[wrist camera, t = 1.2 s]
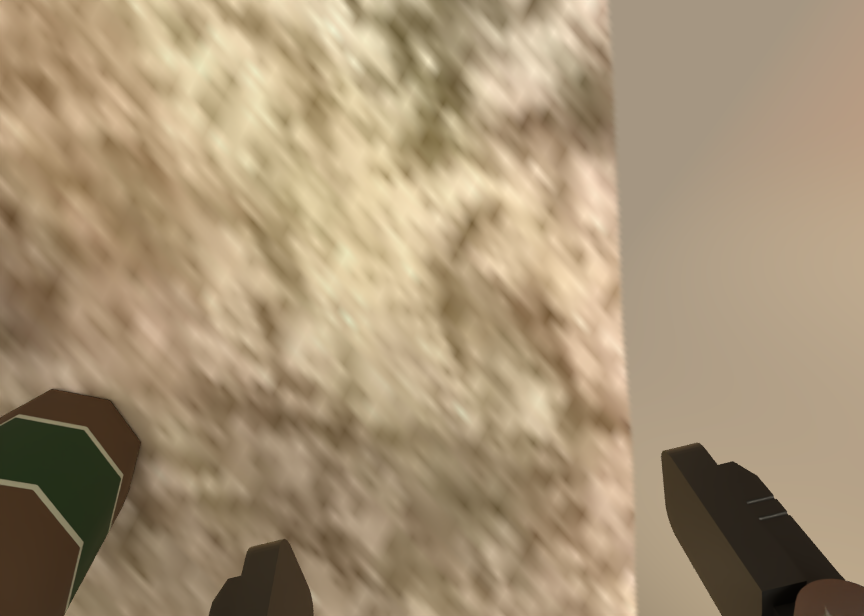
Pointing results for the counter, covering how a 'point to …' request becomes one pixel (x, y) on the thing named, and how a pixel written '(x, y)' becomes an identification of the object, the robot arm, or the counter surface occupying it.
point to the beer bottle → (58, 496)
